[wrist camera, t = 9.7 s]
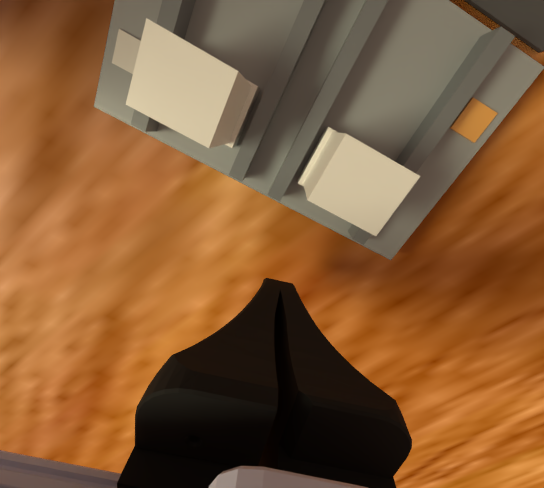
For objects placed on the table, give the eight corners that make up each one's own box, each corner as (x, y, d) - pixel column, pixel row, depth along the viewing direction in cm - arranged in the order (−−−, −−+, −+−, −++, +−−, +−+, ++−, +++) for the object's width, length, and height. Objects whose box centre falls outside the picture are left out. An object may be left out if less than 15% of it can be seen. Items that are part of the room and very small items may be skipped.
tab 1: (169, 111, 11) (118, 104, 8) (189, 48, 10) (139, 9, 7) (235, 147, 11) (213, 154, 8) (260, 89, 10) (246, 71, 7)
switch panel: (115, 108, 13) (76, 104, 10) (175, -154, 9) (137, -250, 7) (381, 247, 14) (398, 270, 12) (513, 74, 11) (571, 60, 9)
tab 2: (297, 179, 12) (300, 199, 8) (326, 127, 11) (342, 126, 8) (354, 210, 12) (378, 241, 9) (387, 162, 11) (428, 176, 8)
